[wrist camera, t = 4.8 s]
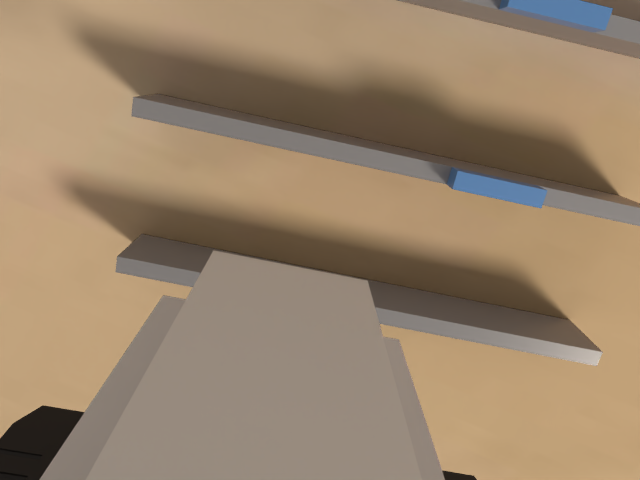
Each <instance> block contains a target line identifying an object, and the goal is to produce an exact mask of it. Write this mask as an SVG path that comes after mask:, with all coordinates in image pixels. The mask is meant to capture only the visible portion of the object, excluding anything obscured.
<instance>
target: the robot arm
mask: <svg viewBox="0 0 640 480" xmlns="http://www.w3.org/2000/svg"><path fill="white" fill-rule="evenodd" d="M185 301H186V299H181V298H175V297H170V296H165V295H163V296H162V298H161V299H160V301H159V302H158V304H157V305H156V307H155V308H154V310H153V311H152V313H151V314H150V316H149V317H148V319H147V320H146V322H145V323H144V325H143V326H142V328H141V329H140V331H139V332H138V334H137V335H136V337H135V338H134V340H133V341H132V342H131V344H130V345H129V347H128V348H127V350H126V351H125V353H124V354H123V356H122V357H121V359H120V360H119V362H118V363H117V365H116V366H115V368H114V369H113V371H112V372H111V374H110V375H109V377H108V378H107V380H106V381H105V383H104V384H103V386H102V387H101V389H100V390H99V392H98V393H97V395H96V396H95V398H94V399H93V401H92V402H91V404H90V405H89V407H88V408H87V409H86V411H85V412H79V411H73V410H67V409H61V408H55V407H49V406H41V407H40V408H38V409H36V410H35V411H33V412H31V413H30V414H28V415H26V416H25V417H23V418H21V419H20V420H18V421H16V422H15V423H13V424H12V425H11V427H10V428H9V429H8V430H7V431H6V433H5V434H4V435H3V436H2V437H1V438H0V480H86V478H87V476H88V475H89V473H90V471H91V469H92V467H93V466H94V464H95V462H96V460H97V458H98V457H99V455H100V453H101V451H102V450H103V448H104V446H105V444H106V442H107V441H108V439H109V437H110V435H111V433H112V432H113V430H114V428H115V426H116V424H117V423H118V421H119V419H120V417H121V415H122V414H123V412H124V410H125V408H126V406H127V405H128V403H129V401H130V399H131V397H132V396H133V394H134V392H135V390H136V388H137V387H138V385H139V383H140V381H141V380H142V378H143V376H144V374H145V372H146V371H147V369H148V367H149V365H150V363H151V362H152V360H153V358H154V356H155V354H156V353H157V351H158V349H159V347H160V345H161V344H162V342H163V340H164V338H165V336H166V335H167V333H168V331H169V329H170V327H171V326H172V324H173V322H174V320H175V318H176V317H177V315H178V313H179V311H180V310H181V308H182V306H183V304H184V302H185ZM383 339H384V342H385V346H386V350H387V353H388V357H389V361H390V364H391V368H392V372H393V375H394V379H395V383H396V386H397V390H398V394H399V397H400V401H401V405H402V408H403V412H404V416H405V419H406V423H407V427H408V430H409V434H410V438H411V441H412V445H413V449H414V452H415V456H416V460H417V463H418V467H419V471H420V474H421V478H422V480H477V479H476V478H475V477H474V476H472V475H466V474H460V473H454V472H448V471H442V469H441V466H440V463H439V460H438V457H437V454H436V451H435V448H434V445H433V442H432V439H431V436H430V433H429V429H428V426H427V423H426V420H425V417H424V414H423V411H422V408H421V405H420V402H419V399H418V396H417V393H416V390H415V387H414V384H413V381H412V378H411V375H410V372H409V369H408V366H407V363H406V360H405V357H404V354H403V351H402V347H401V344H400V341H399V339H393V338H388V337H383Z"/></svg>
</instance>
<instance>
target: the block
mask: <svg viewBox="0 0 640 480" xmlns="http://www.w3.org/2000/svg"><path fill="white" fill-rule="evenodd" d="M86 480H422V478H421V474H420V471H419V467H418V463H417V460H416V456H415V452H414V449H413V445H412V441H411V438H410V434H409V430H408V427H407V423H406V419H405V416H404V412H403V408H402V405H401V401H400V397H399V394H398V390H397V386H396V383H395V379H394V375H393V372H392V368H391V364H390V361H389V357H388V353H387V350H386V346H385V342H384V339H383V335H382V331H381V328H380V324H379V320H378V317H377V313H376V309H375V306H374V302H373V298H372V295H371V291H370V287H369V284H368V281H367V280H362V279H356V278H351V277H346V276H341V275H336V274H331V273H326V272H321V271H316V270H311V269H306V268H301V267H295V266H290V265H285V264H280V263H275V262H270V261H265V260H260V259H255V258H250V257H245V256H239V255H234V254H229V253H224V252H219V251H214V250H213V252H212V254H211V256H210V257H209V259H208V261H207V263H206V265H205V266H204V268H203V270H202V272H201V274H200V275H199V277H198V279H197V281H196V283H195V284H194V286H193V288H192V290H191V292H190V293H189V295H188V297H187V299H186V301H185V302H184V304H183V306H182V308H181V310H180V311H179V313H178V315H177V317H176V318H175V320H174V322H173V324H172V326H171V327H170V329H169V331H168V333H167V335H166V336H165V338H164V340H163V342H162V344H161V345H160V347H159V349H158V351H157V353H156V354H155V356H154V358H153V360H152V362H151V363H150V365H149V367H148V369H147V371H146V372H145V374H144V376H143V378H142V380H141V381H140V383H139V385H138V387H137V388H136V390H135V392H134V394H133V396H132V397H131V399H130V401H129V403H128V405H127V406H126V408H125V410H124V412H123V414H122V415H121V417H120V419H119V421H118V423H117V424H116V426H115V428H114V430H113V432H112V433H111V435H110V437H109V439H108V441H107V442H106V444H105V446H104V448H103V450H102V451H101V453H100V455H99V457H98V458H97V460H96V462H95V464H94V466H93V467H92V469H91V471H90V473H89V475H88V476H87V478H86Z"/></svg>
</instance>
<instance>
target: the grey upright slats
mask: <svg viewBox="0 0 640 480" xmlns="http://www.w3.org/2000/svg"><path fill="white" fill-rule="evenodd" d="M398 1H402V2H406V3H411V4H415V5H419V6H423V7H427V8H431V9H436V10H440V11H444V12H448V13H452V14H456V15H460V16H465V17H469V18H473V19H477V20H481V21H485V22H490V23H494V24H498V25H502V26H506V27H510V28H514V29H519V30H523V31H527V32H531V33H535V34H539V35H544V36H548V37H552V38H556V39H560V40H564V41H569V42H573V43H577V44H581V45H585V46H589V47H593V48H598V49H602V50H606V51H610V52H614V53H618V54H623V55H627V56H631V57H635V58H639V59H640V21H636V20H632V19H628V18H624V17H620V16H616V15H611V13H612V10H613V8H609V7H605V6H601V5H597V4H593V3H589V2H585V1H581V0H398ZM132 116H134V117H138V118H143V119H148V120H152V121H157V122H162V123H166V124H171V125H175V126H180V127H185V128H189V129H194V130H198V131H203V132H208V133H212V134H217V135H222V136H226V137H231V138H235V139H240V140H245V141H249V142H254V143H258V144H263V145H268V146H272V147H277V148H282V149H286V150H291V151H295V152H300V153H305V154H309V155H314V156H318V157H323V158H328V159H332V160H337V161H342V162H346V163H351V164H355V165H360V166H365V167H369V168H374V169H378V170H383V171H388V172H392V173H397V174H402V175H406V176H411V177H415V178H420V179H425V180H429V181H434V182H439V183H443V184H447V185H448V186H449V187H451V188H452V189H454V190H459V191H464V192H468V193H473V194H477V195H482V196H487V197H491V198H496V199H501V200H505V201H510V202H514V203H519V204H524V205H528V206H533V207H538V208H542V205H545V206H549V207H554V208H559V209H563V210H568V211H572V212H577V213H582V214H586V215H591V216H595V217H600V218H605V219H609V220H614V221H619V222H623V223H628V224H632V225H637V226H640V204H639V203H637V202H634V201H632V200H629V199H627V198H624V197H622V196H619V195H614V194H610V193H605V192H601V191H596V190H592V189H587V188H583V187H578V186H574V185H569V184H565V183H560V182H555V181H551V180H546V179H542V178H537V177H533V176H528V175H524V174H519V173H515V172H510V171H506V170H501V169H496V168H492V167H487V166H483V165H478V164H474V163H469V162H465V161H460V160H456V159H451V158H447V157H442V156H437V155H433V154H428V153H424V152H419V151H415V150H410V149H406V148H401V147H397V146H392V145H388V144H383V143H378V142H374V141H369V140H365V139H360V138H356V137H351V136H347V135H342V134H338V133H333V132H329V131H324V130H319V129H315V128H310V127H306V126H301V125H297V124H292V123H288V122H283V121H279V120H274V119H270V118H265V117H260V116H256V115H251V114H247V113H242V112H238V111H233V110H229V109H224V108H220V107H215V106H211V105H206V104H201V103H197V102H192V101H188V100H183V99H179V98H174V97H170V96H165V95H161V94H153V95H145V96H137V97H133V106H132ZM213 250H214V251H219V252H224V253H229V254H234V255H239V256H245V257H250V258H255V259H260V260H265V261H270V262H275V263H280V264H285V265H290V266H295V267H301V268H306V269H311V270H316V271H321V272H326V273H331V274H336V275H341V276H346V277H351V278H356V279H362V280H367V281H368V284H369V287H370V291H371V295H372V298H373V302H374V306H375V309H376V313H377V317H378V320H379V324H384V325H389V326H394V327H399V328H405V329H410V330H415V331H420V332H425V333H430V334H435V335H440V336H446V337H451V338H456V339H461V340H466V341H471V342H476V343H481V344H487V345H492V346H497V347H502V348H507V349H512V350H517V351H522V352H528V353H533V354H538V355H543V356H548V357H553V358H558V359H563V360H568V361H574V362H579V363H584V364H589V365H594V366H597V364H598V362H599V360H600V357H601V355H602V353H603V352H602V351H601V350H600V349H599V348H598V347H597V346H596V345H595V344H594V343H593V342H592V341H591V340H590V339H589V338H588V337H587V336H586V335H585V334H584V333H583V332H582V331H581V330H579V329H578V328H577V327H576V326H575V325H574V324H573V323H572V322H571V321H570V320H567V319H562V318H557V317H552V316H547V315H542V314H537V313H532V312H527V311H522V310H517V309H512V308H507V307H502V306H497V305H492V304H487V303H482V302H477V301H472V300H467V299H462V298H458V297H453V296H448V295H443V294H438V293H433V292H428V291H423V290H418V289H413V288H408V287H403V286H398V285H393V284H388V283H383V282H378V281H373V280H368V279H363V278H358V277H353V276H348V275H343V274H338V273H333V272H328V271H323V270H318V269H313V268H308V267H303V266H298V265H293V264H288V263H283V262H278V261H273V260H269V259H264V258H259V257H254V256H249V255H244V254H239V253H234V252H229V251H224V250H219V249H214V248H209V247H204V246H199V245H194V244H189V243H184V242H179V241H174V240H169V239H164V238H159V237H154V236H149V235H144V234H141V235H140V236H139V237H138V238H137V239H136V240H135V241H134V242H132V243H131V244H130V245H129V246H128V247H127V248H126V249H125V250H124V251H123V252H121V253H120V254H119V255H118V256H117V264H116V272H118V273H123V274H128V275H133V276H138V277H143V278H149V279H154V280H159V281H164V282H169V283H174V284H179V285H184V286H190V287H193V286H194V284H195V283H196V281H197V279H198V277H199V275H200V274H201V272H202V270H203V268H204V266H205V265H206V263H207V261H208V259H209V257H210V256H211V254H212V252H213Z"/></svg>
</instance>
